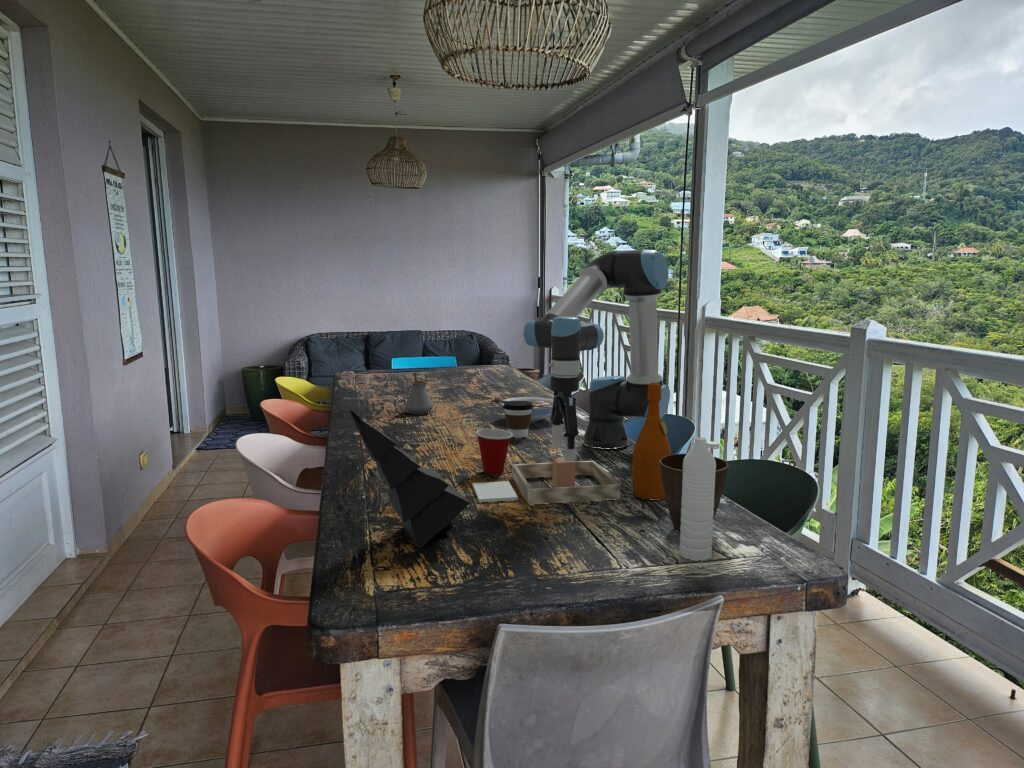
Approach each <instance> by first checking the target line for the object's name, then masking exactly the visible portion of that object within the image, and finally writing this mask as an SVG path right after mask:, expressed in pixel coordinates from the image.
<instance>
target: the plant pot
mask: <svg viewBox="0 0 1024 768" xmlns="http://www.w3.org/2000/svg"><path fill="white" fill-rule="evenodd" d="M686 454H687V453H673V454H671V455H668V456H665V457H663V458H661V459H660V469H661V477H662V484H663V489H664V494H665V499H664V500H665V502H666V506H667V511H668V513H669V517H670V519H671V522H672V526H673V528H674V530H675V529H676V530H677V531H679V532H680V526H681V507H682V505H681V500H682V484H683V483H682V481H683V460H684V458H685V456H686ZM713 457H714V459H715V461H716V472H715V489H714V491H715V492H714V508H713V510H714V516H713V520H714V518H715V516H716V514H717V511H718V508H719V505H720V503H721V499H722V497H723V492H724V489H725V485H726V480H727V475H728V471H729V463H728V462H727V460H725V459H722V458H719V457H716V456H713ZM676 530H675V531H676ZM677 531H676V532H677ZM679 532H678V533H679Z"/></svg>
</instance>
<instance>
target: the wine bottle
mask: <svg viewBox="0 0 1024 768" xmlns="http://www.w3.org/2000/svg"><path fill="white" fill-rule="evenodd" d="M647 399H648V401H649V405H648V413H647V418H646V420H645V421H644V424H643V427H642V428H641V430H640V431H639V434H638V436H637V438H636V441H635V444H634V447H633V453H632V472H631V473H632V483H631V484H632V493H633V495H634V496H635V497H636V496H637V497H636V498H638V497H640V498H639V499H641V498H644V499H662V500H664V499H663V498H665V494H664V489H663V484H662V477H661V469H660V459H661V458H663V457H665V456H668V455H672V450H671V446H670V442H669V439H668V437H667V434H668V433H669V432H668V427H667V425H666V422H665V420H664V419H662V421H661V418H660V414H659V401H660V400H661V385H660V384H659V383H649V384H648V396H647ZM644 499H643V500H644Z"/></svg>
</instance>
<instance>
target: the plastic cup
mask: <svg viewBox="0 0 1024 768" xmlns="http://www.w3.org/2000/svg"><path fill="white" fill-rule="evenodd" d="M475 435H476V437H477V441H478V445H479V453H480V460H481V462H482V463H481V464H482V470H483V473H484V474H487V475H500V474H504V471H505V466H506V465H505V464H506V462H507V461H506V460H507V454H508V450H509V449H508V448H509V445H510V442H511V438H512V436H513V434H512V433H511V432H508V430H503V429H499V428H481V429H478V430H476V431H475Z"/></svg>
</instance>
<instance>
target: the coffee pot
mask: <svg viewBox="0 0 1024 768" xmlns="http://www.w3.org/2000/svg"><path fill="white" fill-rule="evenodd" d="M411 376H412V377H414V378H413V379H414V381H410V384H411V385H412V388H411V390H410V393H409V396H408V398H407V401H406V403H405V409H406V411H408V412H409V413H410V414H411V413H413V414H412V415H425V414H424V413H427V414H429V413H430V411H432V410H433V408H434V404H433V402H432V399H431V397H430V394H429V392H428V390H427V388H426V386H427V384H428V381H425V380H418V377H417V376H418V375H417V372H415V371H414V372H412V373H411ZM428 412H429V413H428Z"/></svg>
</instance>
